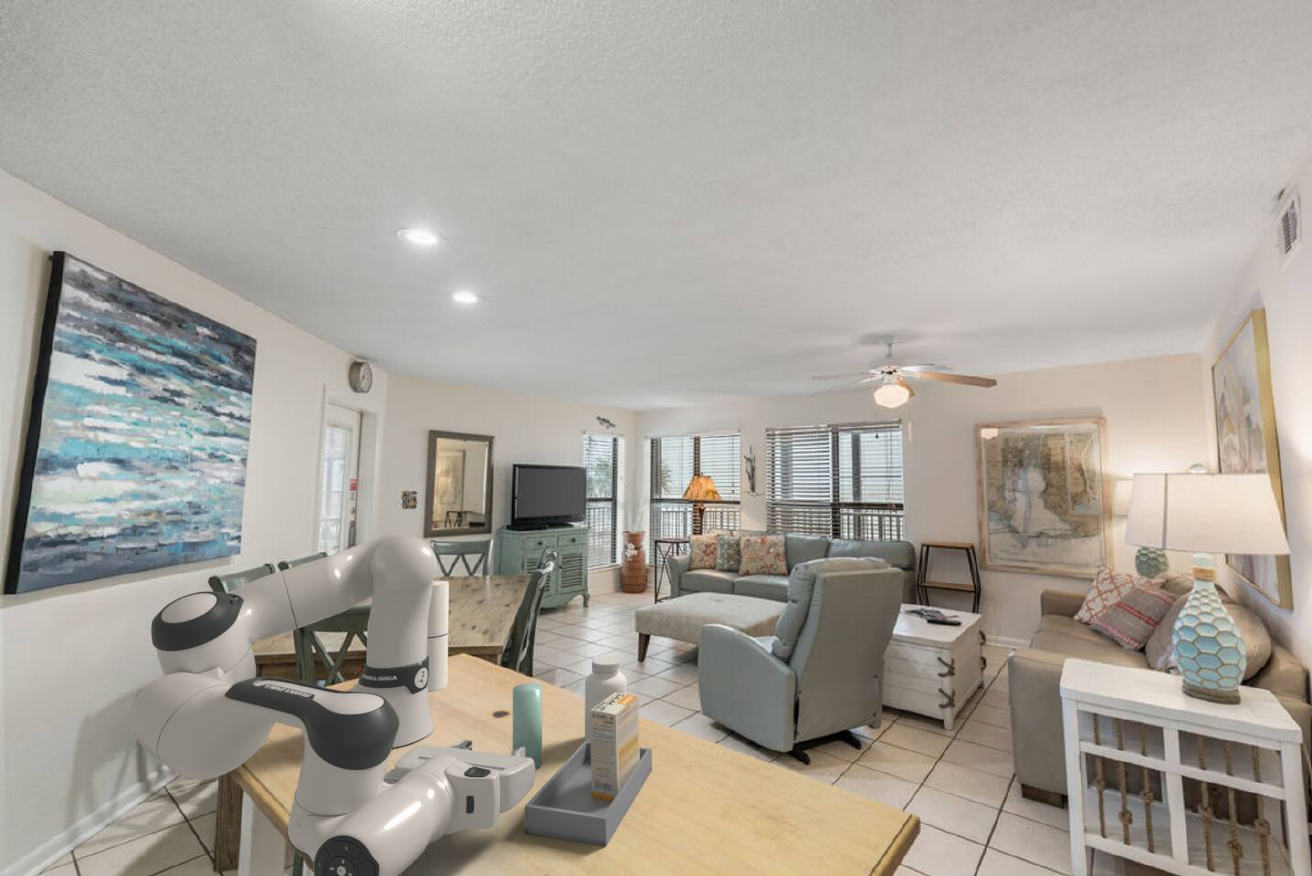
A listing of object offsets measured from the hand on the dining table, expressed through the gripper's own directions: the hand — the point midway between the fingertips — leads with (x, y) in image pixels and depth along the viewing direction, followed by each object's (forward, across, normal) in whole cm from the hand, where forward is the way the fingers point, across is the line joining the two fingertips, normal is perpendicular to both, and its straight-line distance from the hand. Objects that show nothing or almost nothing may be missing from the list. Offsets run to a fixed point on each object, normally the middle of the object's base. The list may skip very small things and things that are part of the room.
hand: (494, 748), depth 89 cm
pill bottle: (+23, +10, -8) cm, 26 cm away
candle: (+11, 0, -7) cm, 13 cm away
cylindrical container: (+41, -43, -8) cm, 60 cm away
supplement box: (+6, +18, -7) cm, 20 cm away
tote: (+4, +15, -7) cm, 17 cm away
